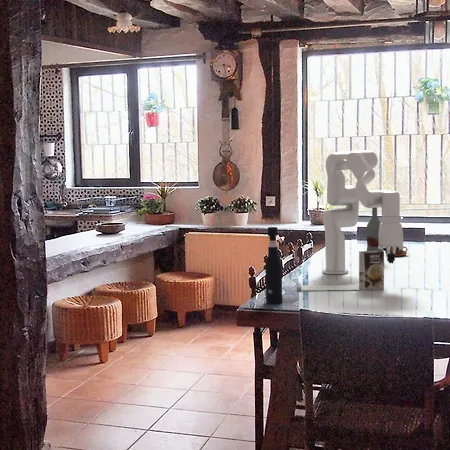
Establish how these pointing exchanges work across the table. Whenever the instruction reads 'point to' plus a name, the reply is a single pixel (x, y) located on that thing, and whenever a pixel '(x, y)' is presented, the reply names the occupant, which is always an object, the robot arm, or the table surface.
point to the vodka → (373, 232)
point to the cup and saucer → (399, 252)
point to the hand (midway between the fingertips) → (390, 262)
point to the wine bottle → (273, 270)
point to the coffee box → (371, 270)
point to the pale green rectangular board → (327, 287)
